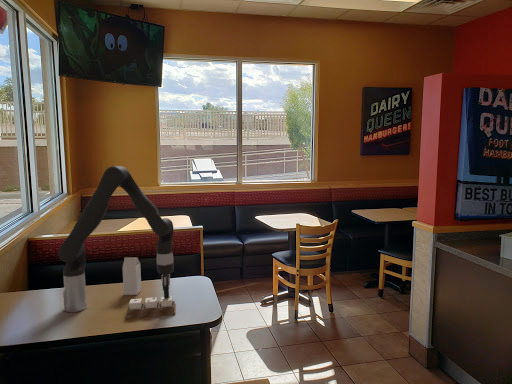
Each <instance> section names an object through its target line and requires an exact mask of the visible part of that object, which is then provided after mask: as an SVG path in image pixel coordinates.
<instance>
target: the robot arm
mask: <svg viewBox="0 0 512 384" xmlns="http://www.w3.org/2000/svg"><path fill="white" fill-rule="evenodd" d="M119 187H120V188H121V189H122V190H123V191H125V192H126V193H127V195H128V197H130V198H129V199H130V200H131V201H132V203H133V205H134V207H135V208H136V210H137V211H138V212H139V213H140V214H141V216H142V217H143V218H144V219H145V220H146V221H147V223H148V225H149V226H150V228H151V230H152V231H153V233H154V234H156V236H158V240H157V242H156V271H157V273H158V274H161V277H160V278H161V279H160V281H161V285H162V291H163V297H164V298H169V296H170V285H171V274H172V273H174V271H175V270H174V269H175V268H174V266H175V265H174V264H175V263H174V254H173V238H174V223H173V222H172V220H171V219H169V218H167V217H165V218H162V217H161V215H160V211H159V209H158V208H157V207H156V205H155V204H154V202H152V201H151V199H149V197H147V195H146V194H145V193H144V191H143V190H142V189H141V188H140V187H139V185H138V184H137V182H136V181H135V179H134V178H133V176H132V174H131V173H130V171H129V170H128V168H126V167H125V166H123V165H112V166H109V167H107V168H106V169H105V170H104V172H103V175H102V177H101V178H100V181H99V183H98V185H97V188H96V189H95V191H94V193H93V194H92V195H91V197H90V199H89V200H88V202H87V203H86V205H85V207H84V209H83V210H82V212H81V214H80V216H79V217H78V219H77V221H76V223H75V224H74V226H73V228H72V230H71V231H70V233H69V234H68V236H66V239H65V240H64V241H63V243H61V245H60V246H59V248H58V251H57V253H58V254H57V255H58V258H59V259H60V261H62V262H63V263H64V262H65V263H66V264H65V265H64V268H63V269H62V274H63V276H62V277H63V287H64V291H63V292H62V295H63V307H64V308H63V310H64V312H68V313H77V312H81V311H84V310H86V309H87V307H88V304H87V303H88V302H87V301H88V300H87V290H86V272H85V269H86V265H87V263H86V262H87V259H86V257H87V256H86V255H87V254H86V251H87V250H86V247H85V244H84V242H85V241H86V239H87V238H88V237H90V235H91V234H92V233H93V232H94V231H95V230H96V229H97V228H98V227H99V225H100V224H101V222H102V221H103V219H104V217H105V215H106V214H107V211H108V207H109V202H110V200H111V198H112V196H113V194H114V192H115V191H116V189H117V188H119Z"/></svg>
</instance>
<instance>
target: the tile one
mask: <svg viewBox="0 0 512 384" xmlns="http://www.w3.org/2000/svg"><path fill="white" fill-rule="evenodd" d="M142 303H143V298H142V297H141V298H131V299H130V301H129V303H128V305H129V309H130V310H132V309H141V307H142Z"/></svg>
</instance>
